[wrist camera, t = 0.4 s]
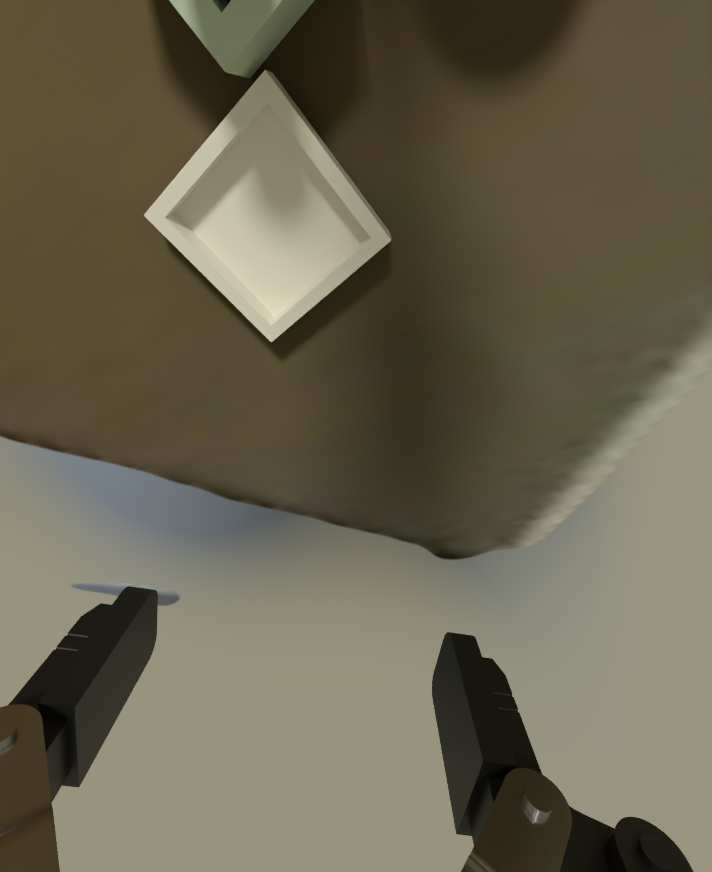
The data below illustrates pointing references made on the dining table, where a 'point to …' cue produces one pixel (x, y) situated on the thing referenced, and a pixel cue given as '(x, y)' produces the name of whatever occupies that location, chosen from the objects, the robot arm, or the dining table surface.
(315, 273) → the tray
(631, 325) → the dining table surface
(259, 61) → the block
